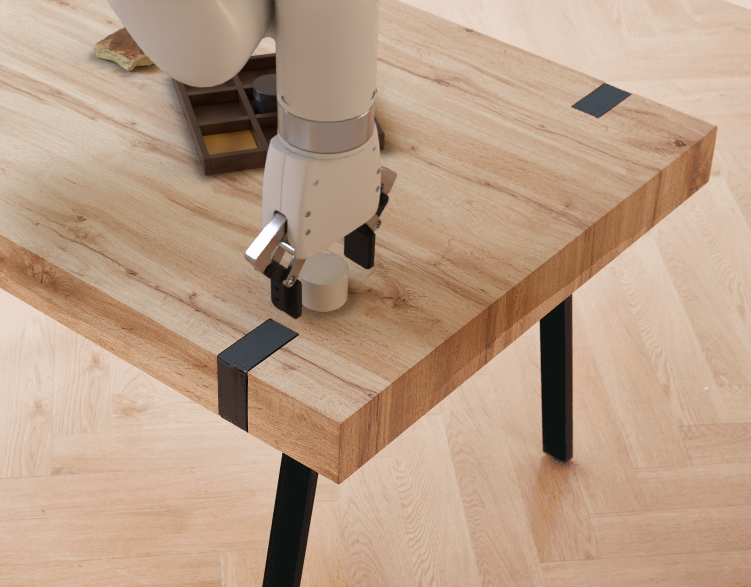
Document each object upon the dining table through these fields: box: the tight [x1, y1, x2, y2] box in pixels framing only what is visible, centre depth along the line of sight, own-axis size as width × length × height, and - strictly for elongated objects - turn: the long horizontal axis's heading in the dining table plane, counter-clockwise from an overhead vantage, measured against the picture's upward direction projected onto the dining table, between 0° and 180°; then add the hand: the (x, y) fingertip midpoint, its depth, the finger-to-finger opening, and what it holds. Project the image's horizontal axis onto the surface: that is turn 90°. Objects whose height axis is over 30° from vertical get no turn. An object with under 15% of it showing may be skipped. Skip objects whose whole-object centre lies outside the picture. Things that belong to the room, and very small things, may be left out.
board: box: [171, 52, 386, 176], centre depth 117 cm, size 19×19×2 cm
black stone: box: [253, 74, 277, 115], centre depth 116 cm, size 4×4×3 cm
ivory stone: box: [297, 251, 350, 313], centre depth 94 cm, size 4×4×3 cm
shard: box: [93, 26, 155, 72], centre depth 126 cm, size 11×8×2 cm
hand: (323, 284), depth 95 cm, fingers open, 8 cm apart
